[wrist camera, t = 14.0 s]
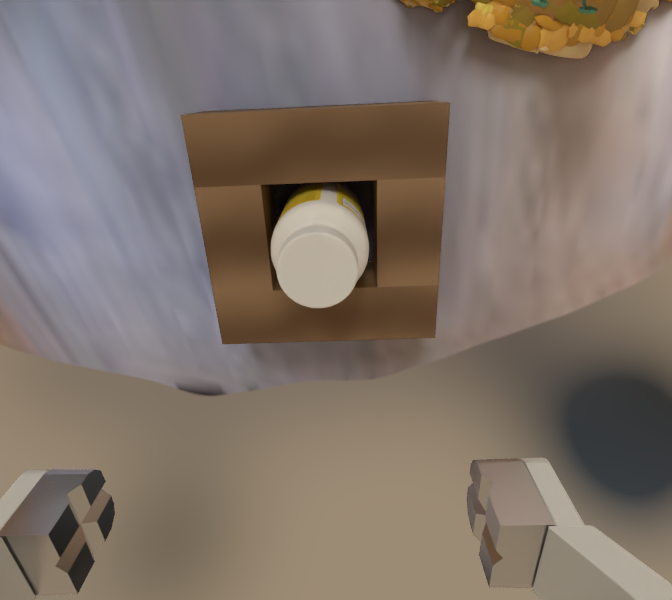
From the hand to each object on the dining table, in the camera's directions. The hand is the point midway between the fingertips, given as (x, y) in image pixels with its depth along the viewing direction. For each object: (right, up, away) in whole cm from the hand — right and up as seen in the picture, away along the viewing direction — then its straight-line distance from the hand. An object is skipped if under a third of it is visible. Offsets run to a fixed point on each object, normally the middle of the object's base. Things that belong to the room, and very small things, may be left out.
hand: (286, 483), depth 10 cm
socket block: (0, +10, +20) cm, 22 cm away
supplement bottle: (0, +10, +20) cm, 23 cm away
